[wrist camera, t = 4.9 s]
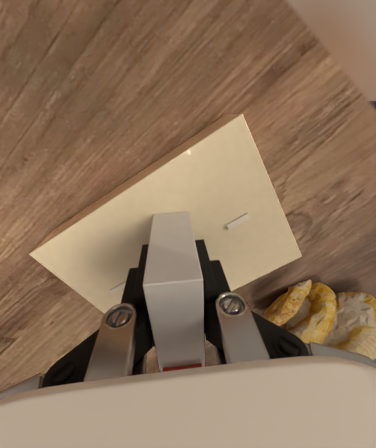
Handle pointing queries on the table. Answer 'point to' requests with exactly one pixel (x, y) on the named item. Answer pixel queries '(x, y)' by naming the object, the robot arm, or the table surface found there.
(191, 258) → the tap handle
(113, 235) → the block
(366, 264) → the table surface
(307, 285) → the cream yellow lumpy piece
